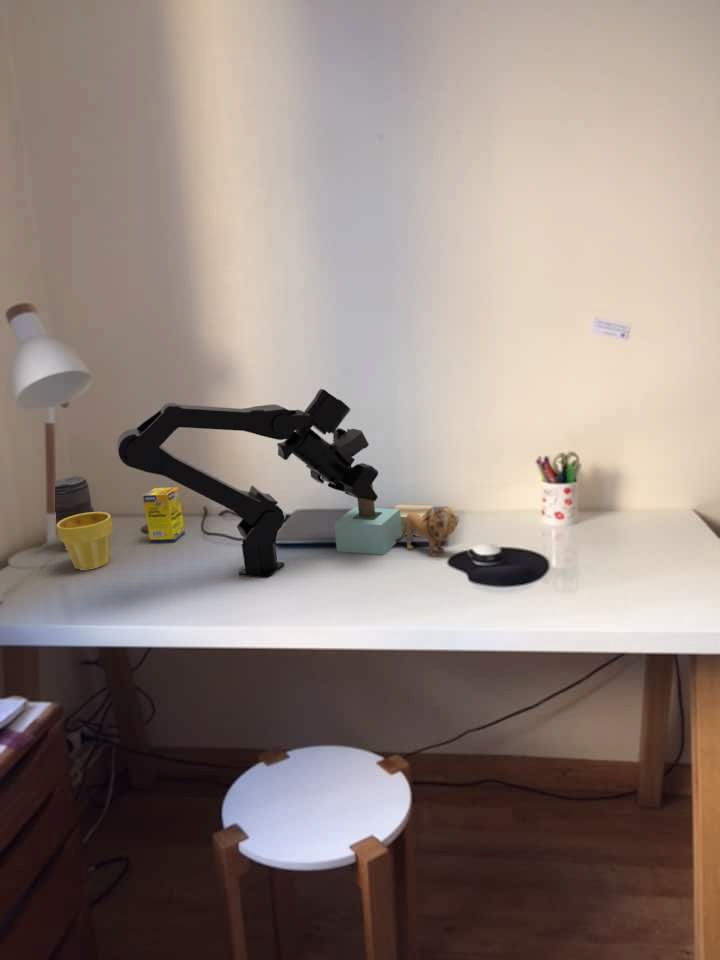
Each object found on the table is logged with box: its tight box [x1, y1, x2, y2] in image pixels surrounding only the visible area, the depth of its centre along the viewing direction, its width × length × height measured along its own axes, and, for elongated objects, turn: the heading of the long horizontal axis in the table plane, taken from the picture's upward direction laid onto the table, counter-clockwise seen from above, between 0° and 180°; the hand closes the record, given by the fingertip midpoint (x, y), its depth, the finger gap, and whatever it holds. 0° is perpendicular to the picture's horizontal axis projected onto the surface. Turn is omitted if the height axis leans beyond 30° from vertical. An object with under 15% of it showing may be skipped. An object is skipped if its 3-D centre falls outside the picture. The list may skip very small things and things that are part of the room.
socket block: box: [333, 506, 402, 556], centre depth 147 cm, size 10×10×6 cm
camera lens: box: [54, 476, 95, 548], centre depth 162 cm, size 8×8×15 cm
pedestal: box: [392, 504, 435, 534], centre depth 154 cm, size 8×8×4 cm
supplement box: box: [142, 487, 186, 544], centre depth 162 cm, size 6×6×11 cm
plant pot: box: [56, 511, 114, 570], centre depth 150 cm, size 10×10×10 cm
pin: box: [356, 482, 376, 517], centre depth 145 cm, size 3×3×8 cm
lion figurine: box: [396, 507, 460, 558], centre depth 141 cm, size 15×5×9 cm, turn 49°
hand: (371, 497), depth 146 cm, fingers closed on pin, 3 cm apart
